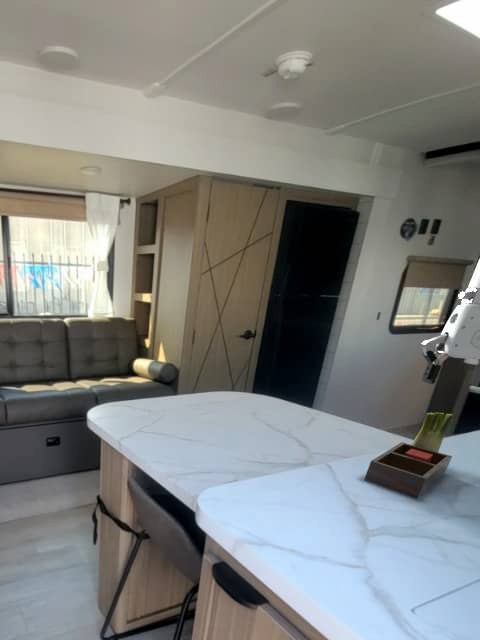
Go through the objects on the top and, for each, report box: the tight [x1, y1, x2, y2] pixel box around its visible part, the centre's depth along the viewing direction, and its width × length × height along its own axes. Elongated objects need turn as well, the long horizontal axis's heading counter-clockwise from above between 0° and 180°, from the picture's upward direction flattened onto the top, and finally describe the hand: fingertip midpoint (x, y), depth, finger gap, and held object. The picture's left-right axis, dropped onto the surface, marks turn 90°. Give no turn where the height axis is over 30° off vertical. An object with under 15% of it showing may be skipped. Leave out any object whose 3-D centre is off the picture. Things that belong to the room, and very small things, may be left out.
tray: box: [363, 441, 453, 500], centre depth 87 cm, size 18×10×4 cm, turn 129°
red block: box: [405, 449, 433, 463], centre depth 89 cm, size 4×4×4 cm
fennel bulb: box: [411, 412, 454, 452], centre depth 93 cm, size 6×5×12 cm
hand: (450, 384), depth 88 cm, fingers open, 9 cm apart
